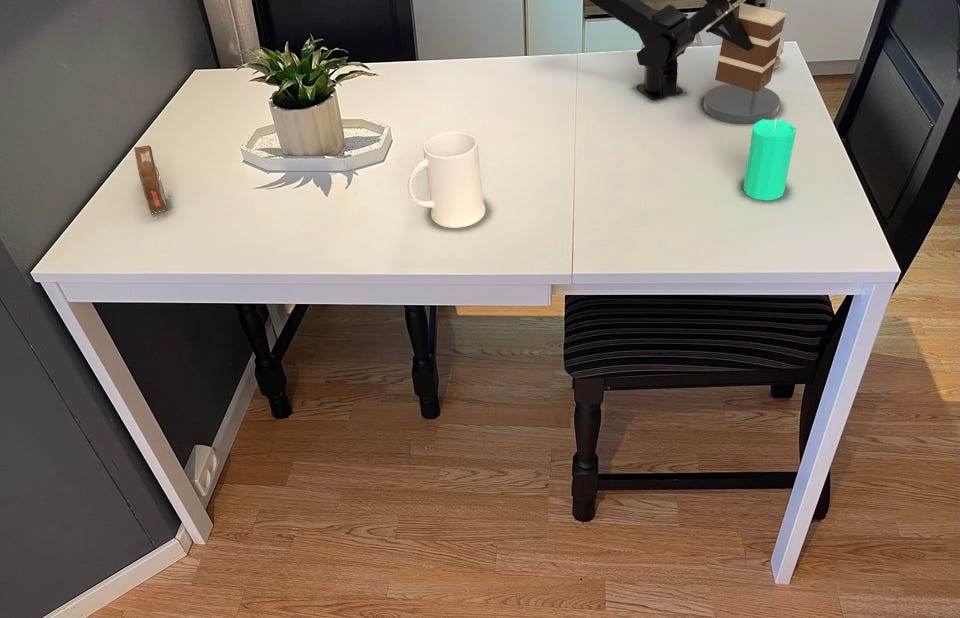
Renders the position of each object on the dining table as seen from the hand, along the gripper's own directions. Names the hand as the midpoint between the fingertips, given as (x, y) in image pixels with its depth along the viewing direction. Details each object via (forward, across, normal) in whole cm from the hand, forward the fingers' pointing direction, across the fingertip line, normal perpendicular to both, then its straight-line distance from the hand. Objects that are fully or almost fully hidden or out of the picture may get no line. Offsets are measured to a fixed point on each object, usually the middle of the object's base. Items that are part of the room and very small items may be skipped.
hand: (757, 43), depth 132 cm
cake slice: (+4, 0, +6) cm, 7 cm away
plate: (+8, +1, +10) cm, 13 cm away
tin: (-40, -77, +58) cm, 105 cm away
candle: (+18, -22, 0) cm, 29 cm away
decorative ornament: (+4, +19, +14) cm, 24 cm away
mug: (-8, -54, +26) cm, 61 cm away
